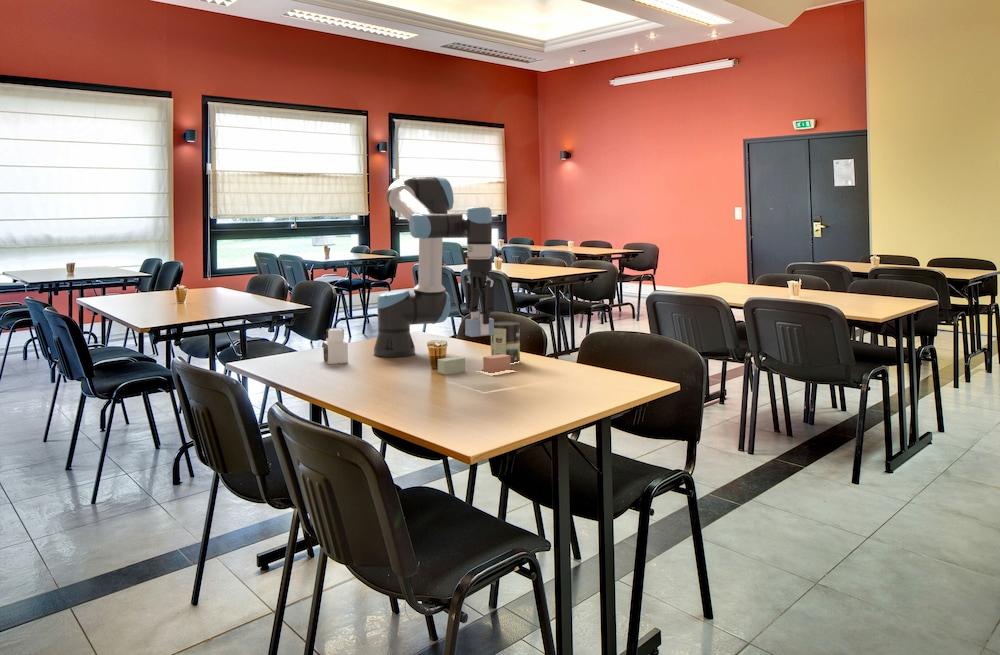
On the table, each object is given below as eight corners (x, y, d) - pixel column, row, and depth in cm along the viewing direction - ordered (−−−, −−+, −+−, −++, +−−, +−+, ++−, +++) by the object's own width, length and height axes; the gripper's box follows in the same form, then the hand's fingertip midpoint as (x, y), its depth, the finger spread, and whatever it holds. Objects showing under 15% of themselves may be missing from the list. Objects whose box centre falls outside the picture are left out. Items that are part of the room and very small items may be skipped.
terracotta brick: (490, 374, 234) (490, 358, 234) (483, 372, 238) (483, 356, 237) (510, 370, 239) (510, 355, 238) (502, 368, 242) (502, 354, 242)
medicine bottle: (323, 361, 259) (322, 327, 258) (343, 359, 262) (342, 326, 261) (327, 364, 253) (326, 330, 251) (348, 362, 256) (347, 328, 254)
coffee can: (520, 360, 259) (520, 321, 257) (520, 366, 249) (520, 325, 247) (490, 360, 260) (490, 321, 257) (489, 366, 249) (489, 325, 247)
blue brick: (471, 336, 224) (471, 320, 224) (465, 335, 228) (465, 319, 227) (493, 334, 229) (493, 318, 228) (487, 333, 232) (487, 317, 231)
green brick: (444, 376, 234) (444, 361, 233) (437, 374, 237) (437, 359, 236) (465, 373, 239) (465, 358, 238) (458, 371, 242) (458, 356, 241)
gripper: (453, 257, 229) (454, 331, 233) (485, 259, 216) (486, 338, 219) (473, 256, 234) (474, 328, 237) (506, 259, 220) (506, 335, 224)
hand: (479, 333), depth 228 cm, fingers closed on blue brick, 4 cm apart
